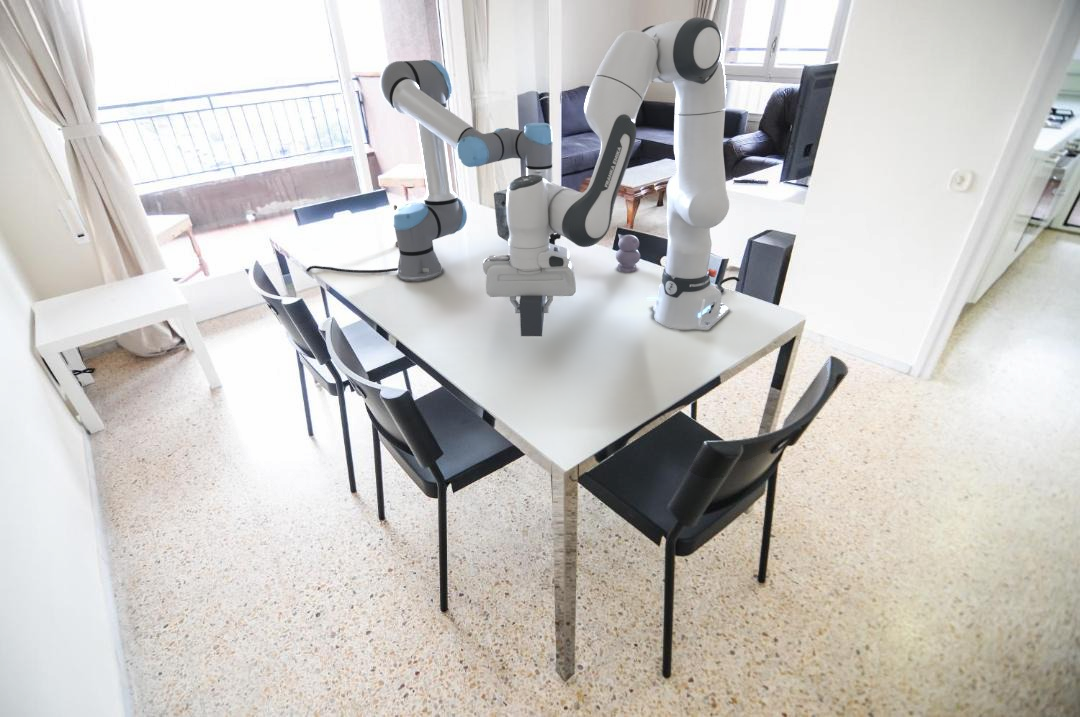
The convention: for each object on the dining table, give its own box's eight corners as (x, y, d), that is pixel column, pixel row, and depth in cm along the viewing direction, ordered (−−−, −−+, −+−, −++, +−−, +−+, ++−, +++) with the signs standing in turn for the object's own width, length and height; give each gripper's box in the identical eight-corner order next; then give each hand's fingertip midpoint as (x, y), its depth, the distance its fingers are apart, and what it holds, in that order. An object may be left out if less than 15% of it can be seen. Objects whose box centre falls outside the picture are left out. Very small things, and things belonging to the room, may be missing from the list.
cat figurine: (643, 268, 173) (646, 234, 167) (631, 275, 168) (633, 240, 162) (623, 263, 178) (625, 230, 172) (610, 269, 173) (611, 235, 167)
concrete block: (553, 252, 189) (552, 199, 179) (534, 258, 185) (532, 204, 175) (514, 236, 208) (511, 187, 198) (496, 241, 204) (492, 191, 193)
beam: (534, 257, 159) (533, 229, 154) (549, 257, 159) (549, 229, 154) (520, 336, 113) (519, 301, 109) (542, 336, 113) (541, 301, 108)
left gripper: (507, 186, 139) (511, 264, 152) (570, 185, 138) (569, 264, 151) (509, 180, 146) (513, 256, 158) (570, 179, 145) (569, 256, 157)
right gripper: (480, 261, 106) (486, 319, 113) (576, 259, 105) (576, 317, 112) (484, 251, 111) (489, 306, 118) (575, 249, 110) (575, 305, 117)
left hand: (541, 260), depth 154 cm, fingers closed on beam, 5 cm apart
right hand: (532, 312), depth 115 cm, fingers closed on beam, 5 cm apart
